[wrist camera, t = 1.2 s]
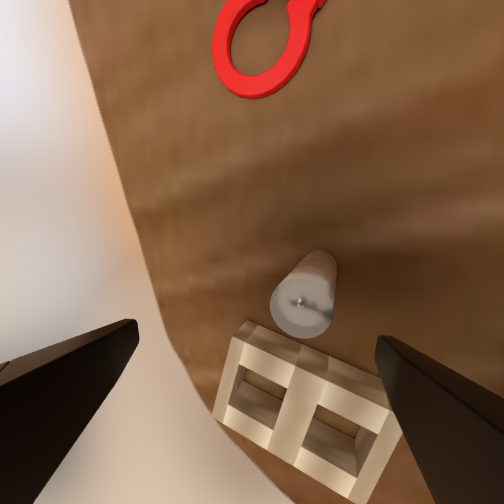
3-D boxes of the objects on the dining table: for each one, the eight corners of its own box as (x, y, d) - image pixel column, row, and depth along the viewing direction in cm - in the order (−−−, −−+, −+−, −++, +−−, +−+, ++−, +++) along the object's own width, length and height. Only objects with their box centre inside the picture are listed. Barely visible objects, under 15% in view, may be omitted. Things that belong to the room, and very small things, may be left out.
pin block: (398, 386, 20) (409, 419, 16) (360, 464, 22) (363, 508, 18) (247, 320, 24) (232, 336, 21) (227, 391, 26) (211, 416, 23)
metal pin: (342, 256, 20) (342, 291, 11) (330, 288, 20) (321, 348, 11) (307, 245, 21) (279, 269, 11) (297, 277, 21) (263, 323, 12)
